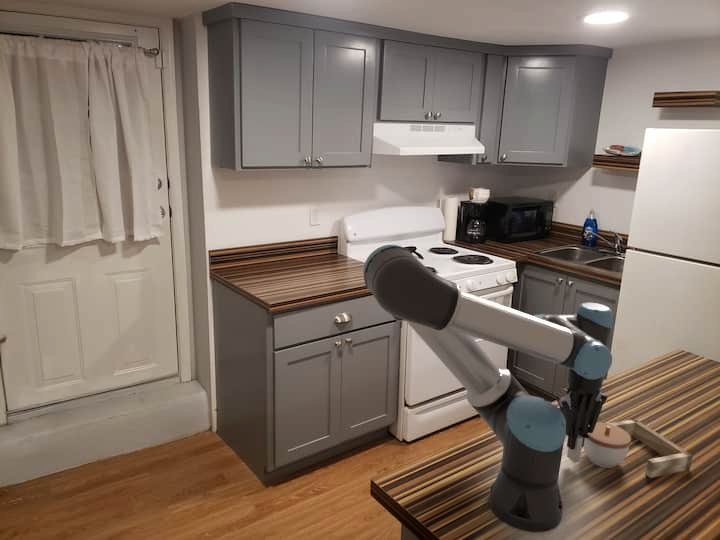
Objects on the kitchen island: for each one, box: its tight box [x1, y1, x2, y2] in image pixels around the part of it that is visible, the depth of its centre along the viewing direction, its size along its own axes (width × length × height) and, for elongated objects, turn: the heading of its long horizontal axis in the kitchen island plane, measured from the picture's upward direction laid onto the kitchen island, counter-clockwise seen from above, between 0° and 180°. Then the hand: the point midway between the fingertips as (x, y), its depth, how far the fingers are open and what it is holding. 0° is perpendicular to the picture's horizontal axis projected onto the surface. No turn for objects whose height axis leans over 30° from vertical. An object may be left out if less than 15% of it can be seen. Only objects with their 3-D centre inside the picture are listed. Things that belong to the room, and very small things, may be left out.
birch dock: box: [607, 418, 693, 479], centre depth 143 cm, size 12×18×4 cm
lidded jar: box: [583, 421, 632, 469], centre depth 139 cm, size 11×11×9 cm
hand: (573, 459), depth 136 cm, fingers closed
